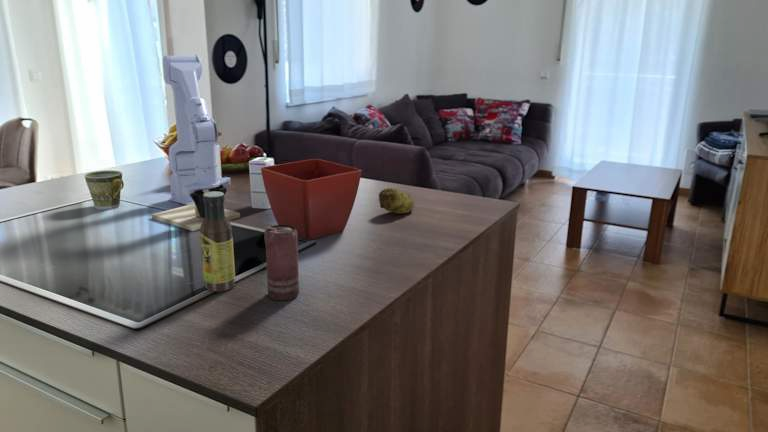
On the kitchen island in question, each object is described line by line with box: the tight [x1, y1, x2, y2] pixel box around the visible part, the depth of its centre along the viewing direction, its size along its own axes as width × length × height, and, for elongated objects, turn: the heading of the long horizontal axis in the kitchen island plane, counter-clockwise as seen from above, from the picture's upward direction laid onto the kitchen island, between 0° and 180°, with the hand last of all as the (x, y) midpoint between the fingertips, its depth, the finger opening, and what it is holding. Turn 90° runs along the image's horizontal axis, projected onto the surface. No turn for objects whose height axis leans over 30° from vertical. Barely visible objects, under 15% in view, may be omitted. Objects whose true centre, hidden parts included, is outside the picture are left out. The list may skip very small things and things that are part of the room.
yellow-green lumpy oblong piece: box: [378, 187, 415, 215], centre depth 171 cm, size 8×13×8 cm, turn 119°
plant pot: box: [261, 158, 362, 241], centre depth 153 cm, size 19×19×17 cm
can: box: [263, 224, 300, 302], centre depth 114 cm, size 6×6×14 cm
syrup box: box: [248, 156, 275, 210], centre depth 175 cm, size 6×6×14 cm
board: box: [151, 203, 241, 232], centre depth 164 cm, size 18×16×1 cm
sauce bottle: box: [199, 191, 236, 293], centre depth 117 cm, size 6×6×20 cm
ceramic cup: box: [84, 169, 125, 211], centre depth 172 cm, size 13×10×10 cm
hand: (209, 214), depth 161 cm, fingers closed on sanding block, 4 cm apart
